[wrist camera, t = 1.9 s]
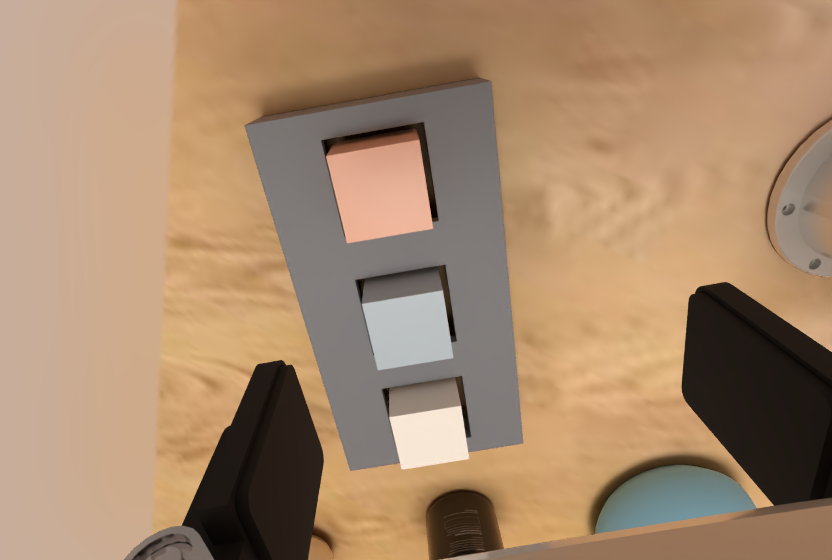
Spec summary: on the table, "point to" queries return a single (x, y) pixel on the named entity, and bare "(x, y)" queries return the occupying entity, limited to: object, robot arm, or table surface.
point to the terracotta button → (380, 185)
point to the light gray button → (407, 318)
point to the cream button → (427, 423)
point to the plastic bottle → (319, 549)
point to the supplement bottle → (462, 526)
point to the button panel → (399, 260)
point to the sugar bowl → (671, 498)
